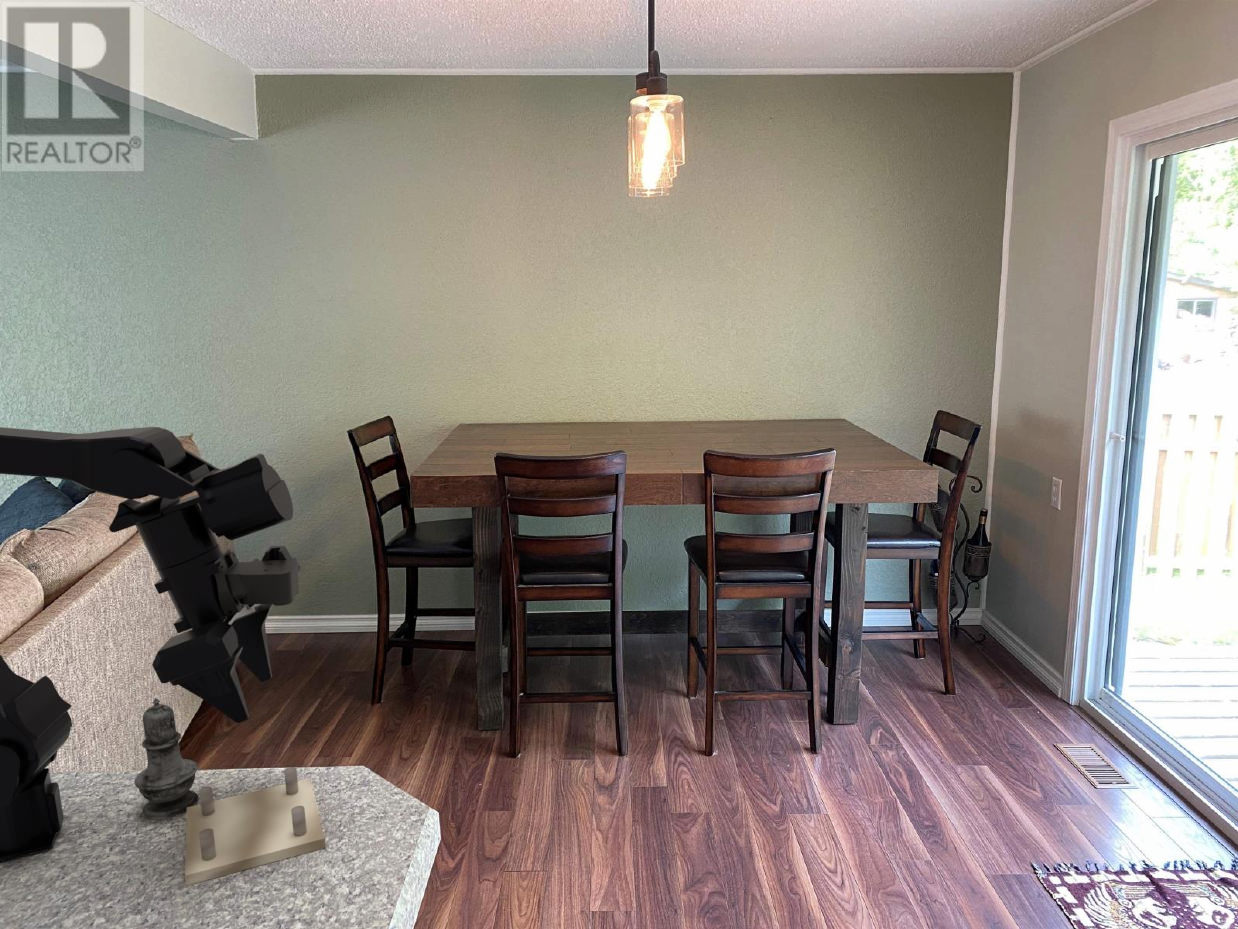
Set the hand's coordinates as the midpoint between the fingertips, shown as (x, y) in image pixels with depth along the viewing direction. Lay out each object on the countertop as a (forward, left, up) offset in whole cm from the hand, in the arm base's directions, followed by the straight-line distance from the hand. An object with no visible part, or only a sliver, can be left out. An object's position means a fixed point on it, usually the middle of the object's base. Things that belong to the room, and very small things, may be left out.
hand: (255, 699), depth 86 cm
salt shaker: (-9, +8, -13) cm, 18 cm away
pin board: (-1, -2, -13) cm, 13 cm away
